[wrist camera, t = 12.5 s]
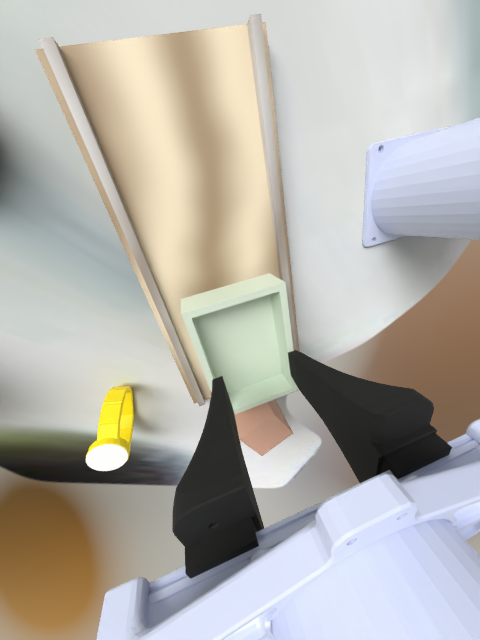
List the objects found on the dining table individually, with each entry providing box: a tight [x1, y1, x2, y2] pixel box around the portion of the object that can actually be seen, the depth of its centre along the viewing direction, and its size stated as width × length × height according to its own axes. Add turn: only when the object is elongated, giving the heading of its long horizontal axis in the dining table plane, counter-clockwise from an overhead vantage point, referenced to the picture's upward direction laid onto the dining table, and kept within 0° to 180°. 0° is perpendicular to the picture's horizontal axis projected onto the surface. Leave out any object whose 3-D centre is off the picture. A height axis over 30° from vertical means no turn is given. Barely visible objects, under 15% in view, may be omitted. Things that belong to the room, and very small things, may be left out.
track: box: [35, 14, 299, 406], centre depth 16 cm, size 12×25×3 cm, turn 12°
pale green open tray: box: [181, 273, 298, 415], centre depth 18 cm, size 7×10×4 cm
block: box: [235, 399, 293, 456], centre depth 23 cm, size 4×4×5 cm
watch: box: [86, 386, 134, 471], centre depth 18 cm, size 6×3×6 cm, turn 173°
